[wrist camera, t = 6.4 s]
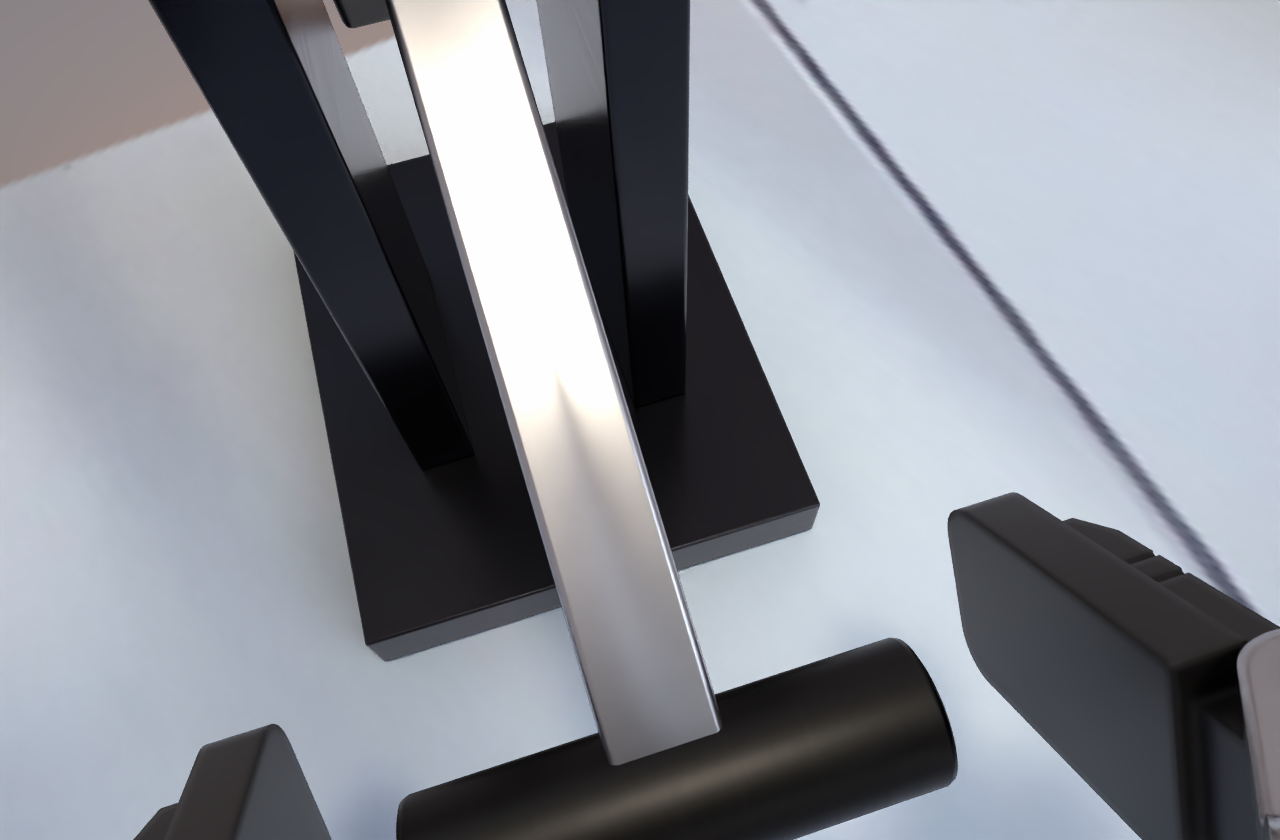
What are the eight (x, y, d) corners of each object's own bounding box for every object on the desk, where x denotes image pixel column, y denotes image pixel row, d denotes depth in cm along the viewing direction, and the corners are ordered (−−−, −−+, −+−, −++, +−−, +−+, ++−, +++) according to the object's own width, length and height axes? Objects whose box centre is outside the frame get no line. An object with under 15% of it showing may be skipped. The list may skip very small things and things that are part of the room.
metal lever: (904, 751, 11) (1003, 818, 8) (454, 904, 10) (420, 1023, 8) (585, -262, 12) (592, -464, 9) (156, -168, 11) (45, -359, 9)
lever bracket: (813, 529, 18) (1045, -143, 7) (384, 662, 17) (-202, 162, 6) (648, 135, 22) (616, -676, 11) (301, 227, 22) (-124, -547, 10)
